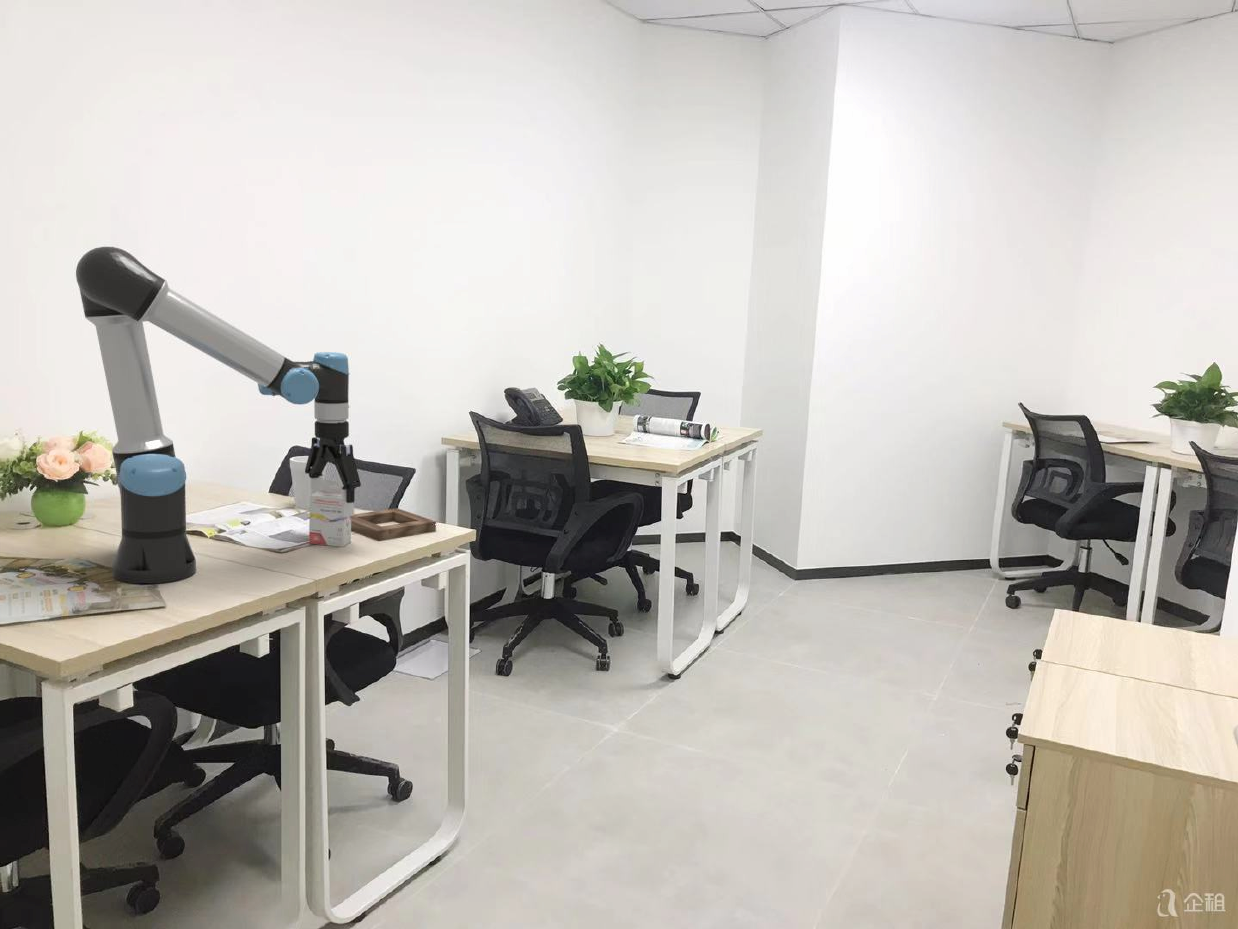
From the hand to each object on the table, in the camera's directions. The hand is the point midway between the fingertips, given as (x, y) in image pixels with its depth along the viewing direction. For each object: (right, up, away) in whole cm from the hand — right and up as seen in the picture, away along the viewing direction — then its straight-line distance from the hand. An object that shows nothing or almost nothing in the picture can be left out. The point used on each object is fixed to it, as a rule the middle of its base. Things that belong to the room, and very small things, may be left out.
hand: (332, 510), depth 219 cm
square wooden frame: (+9, -5, +17) cm, 20 cm away
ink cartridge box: (-1, -8, +1) cm, 8 cm away
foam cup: (-17, -1, +34) cm, 39 cm away
